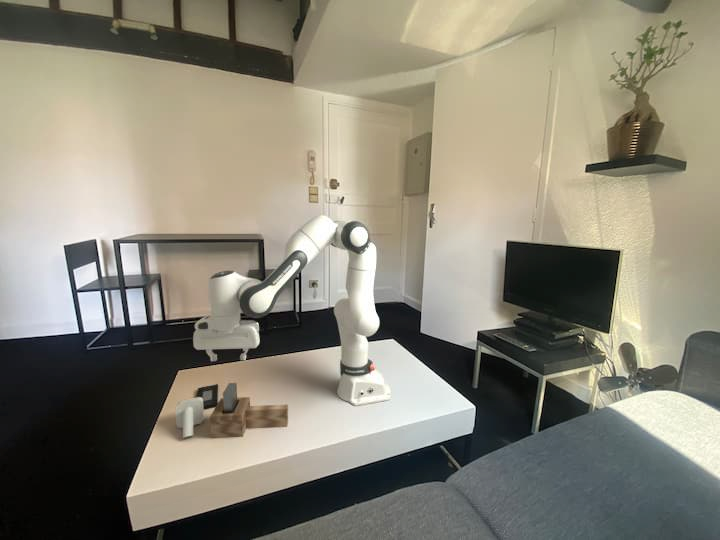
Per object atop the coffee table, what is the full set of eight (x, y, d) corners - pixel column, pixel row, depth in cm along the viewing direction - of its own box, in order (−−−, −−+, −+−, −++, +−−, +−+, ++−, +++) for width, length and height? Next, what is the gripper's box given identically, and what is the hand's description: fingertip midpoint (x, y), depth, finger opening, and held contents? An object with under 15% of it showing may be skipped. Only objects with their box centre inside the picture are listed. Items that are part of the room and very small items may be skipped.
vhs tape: (218, 388, 127) (217, 384, 127) (217, 407, 115) (217, 403, 114) (198, 392, 124) (198, 387, 124) (195, 412, 112) (195, 408, 111)
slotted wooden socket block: (289, 415, 110) (289, 395, 109) (285, 434, 101) (285, 413, 99) (222, 418, 108) (220, 398, 107) (211, 438, 98) (209, 416, 97)
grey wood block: (237, 408, 106) (236, 382, 104) (232, 419, 100) (230, 392, 98) (230, 408, 106) (228, 383, 104) (224, 420, 100) (222, 393, 98)
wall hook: (173, 443, 95) (171, 412, 95) (178, 430, 104) (177, 401, 105) (201, 436, 98) (200, 406, 99) (204, 424, 108) (202, 396, 108)
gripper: (260, 316, 101) (262, 354, 104) (197, 318, 99) (201, 356, 102) (256, 323, 95) (258, 363, 97) (189, 324, 93) (192, 365, 95)
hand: (228, 360), depth 100 cm, fingers open, 8 cm apart
